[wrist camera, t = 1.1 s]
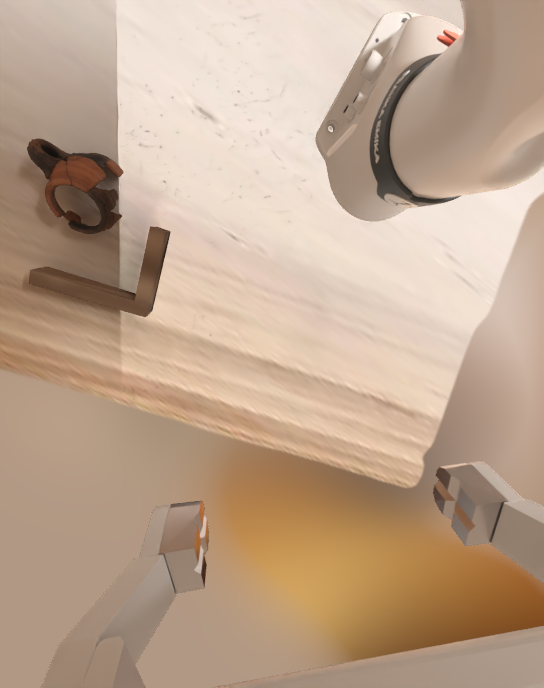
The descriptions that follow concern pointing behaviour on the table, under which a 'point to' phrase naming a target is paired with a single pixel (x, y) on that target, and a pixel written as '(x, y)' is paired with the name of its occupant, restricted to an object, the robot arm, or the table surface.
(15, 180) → the table surface
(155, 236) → the dock
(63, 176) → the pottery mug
